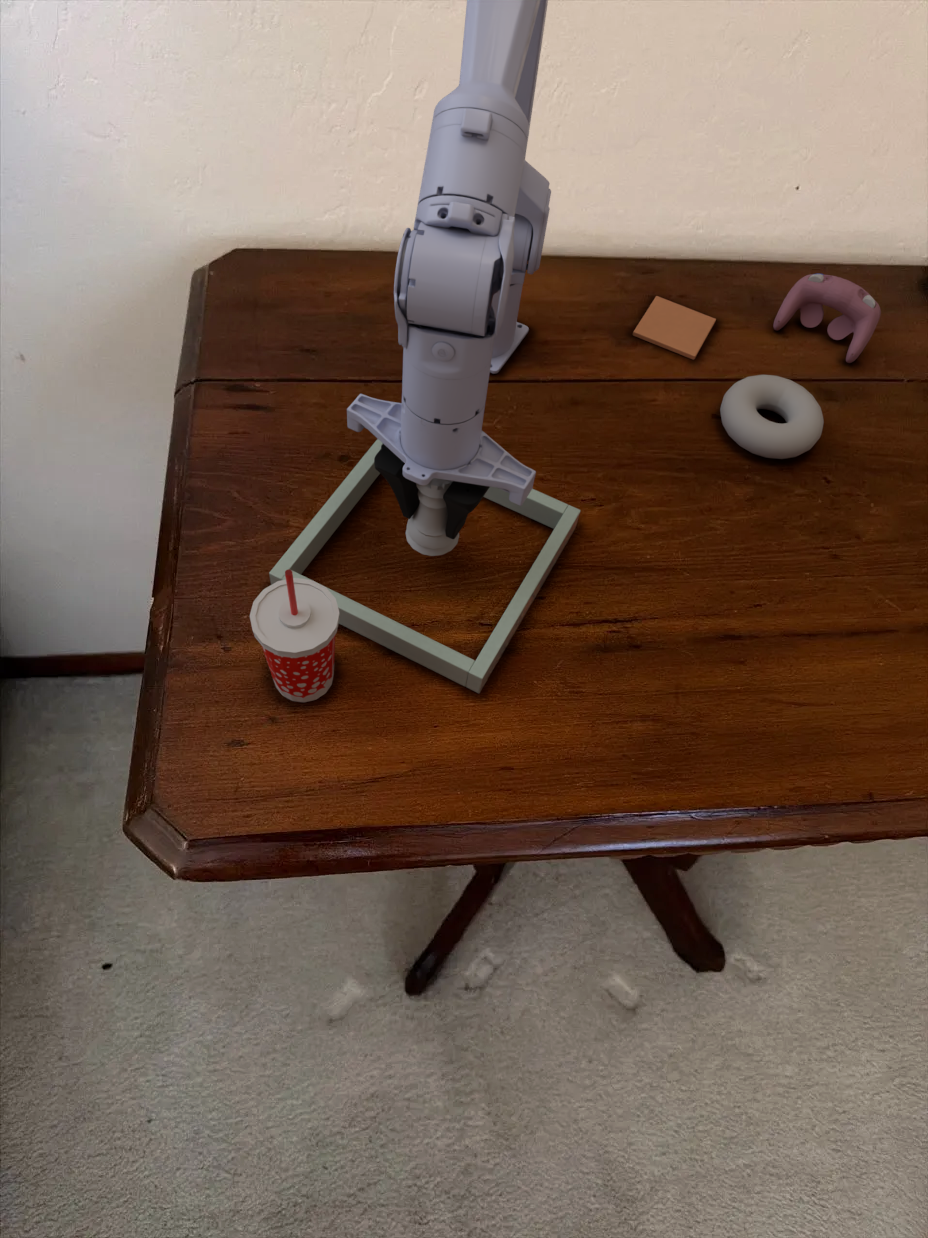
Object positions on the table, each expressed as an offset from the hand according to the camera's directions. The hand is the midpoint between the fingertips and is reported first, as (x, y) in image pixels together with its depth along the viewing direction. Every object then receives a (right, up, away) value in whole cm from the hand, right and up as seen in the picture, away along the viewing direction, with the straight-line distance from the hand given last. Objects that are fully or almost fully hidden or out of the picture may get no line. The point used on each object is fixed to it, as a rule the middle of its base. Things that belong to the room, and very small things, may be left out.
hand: (433, 519), depth 71 cm
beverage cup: (-10, -13, -3) cm, 16 cm away
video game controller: (+41, +23, +25) cm, 53 cm away
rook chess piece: (0, -1, +2) cm, 3 cm away
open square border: (0, -3, +4) cm, 5 cm away
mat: (+25, +23, +23) cm, 41 cm away
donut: (+32, +11, +16) cm, 38 cm away
